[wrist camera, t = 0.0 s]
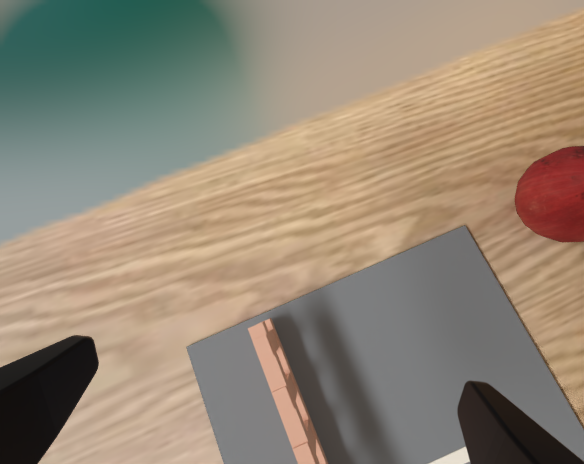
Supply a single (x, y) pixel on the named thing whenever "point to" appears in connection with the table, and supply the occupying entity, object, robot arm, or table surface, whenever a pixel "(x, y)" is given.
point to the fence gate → (286, 394)
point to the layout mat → (383, 364)
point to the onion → (554, 195)
